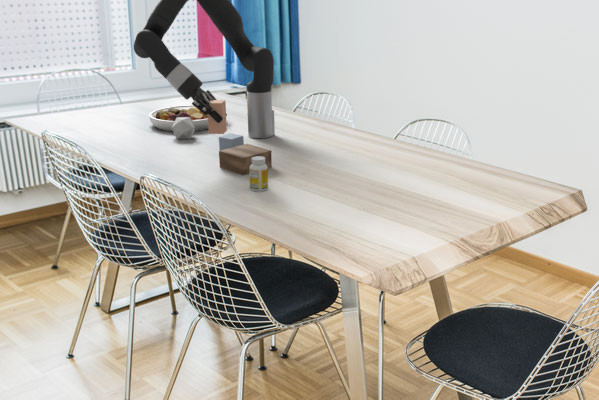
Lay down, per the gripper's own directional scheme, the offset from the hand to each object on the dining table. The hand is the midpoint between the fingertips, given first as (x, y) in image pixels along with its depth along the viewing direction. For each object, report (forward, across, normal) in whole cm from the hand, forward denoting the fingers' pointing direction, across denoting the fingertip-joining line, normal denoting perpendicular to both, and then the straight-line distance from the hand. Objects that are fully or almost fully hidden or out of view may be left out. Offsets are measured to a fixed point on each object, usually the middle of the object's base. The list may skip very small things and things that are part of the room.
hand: (222, 118), depth 229 cm
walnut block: (+16, -1, +6) cm, 18 cm away
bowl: (-9, +56, +33) cm, 65 cm away
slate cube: (+10, +16, +12) cm, 23 cm away
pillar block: (+2, 0, +4) cm, 5 cm away
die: (-6, +34, +29) cm, 45 cm away
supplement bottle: (+22, -22, 0) cm, 32 cm away
